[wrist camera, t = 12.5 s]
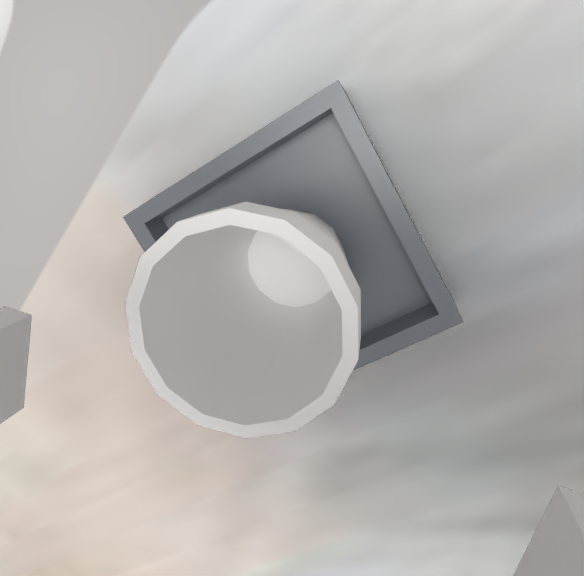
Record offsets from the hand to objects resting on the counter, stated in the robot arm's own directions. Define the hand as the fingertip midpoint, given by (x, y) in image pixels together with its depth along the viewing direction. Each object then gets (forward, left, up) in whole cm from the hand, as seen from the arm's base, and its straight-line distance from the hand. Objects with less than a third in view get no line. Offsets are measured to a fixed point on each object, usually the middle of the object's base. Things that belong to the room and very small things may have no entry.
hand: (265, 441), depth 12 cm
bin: (+1, +2, -21) cm, 21 cm away
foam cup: (+1, +2, -20) cm, 20 cm away
